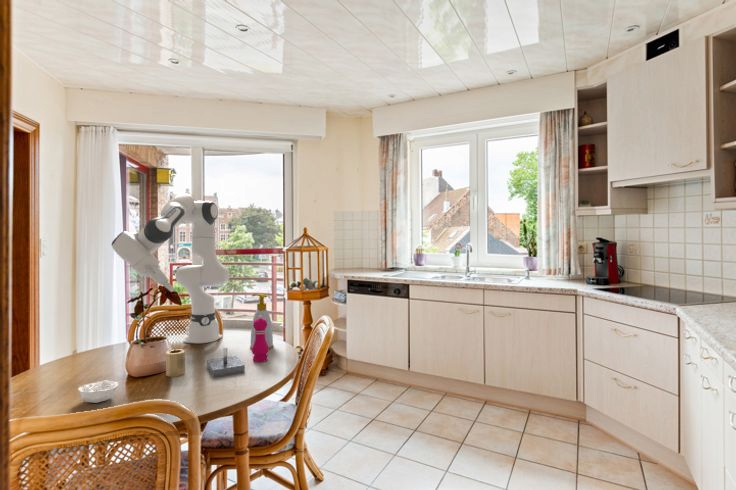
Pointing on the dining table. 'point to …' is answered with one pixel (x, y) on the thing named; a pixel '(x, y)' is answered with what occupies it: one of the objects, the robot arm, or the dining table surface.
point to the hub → (175, 363)
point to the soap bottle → (265, 315)
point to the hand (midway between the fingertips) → (173, 290)
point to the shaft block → (225, 365)
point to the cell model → (98, 391)
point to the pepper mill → (260, 340)
